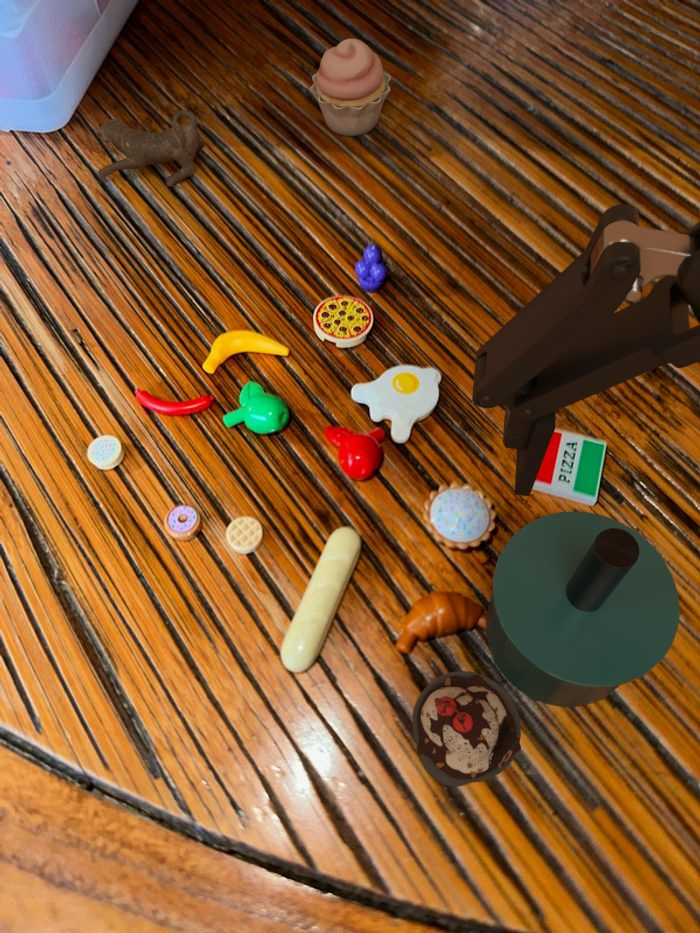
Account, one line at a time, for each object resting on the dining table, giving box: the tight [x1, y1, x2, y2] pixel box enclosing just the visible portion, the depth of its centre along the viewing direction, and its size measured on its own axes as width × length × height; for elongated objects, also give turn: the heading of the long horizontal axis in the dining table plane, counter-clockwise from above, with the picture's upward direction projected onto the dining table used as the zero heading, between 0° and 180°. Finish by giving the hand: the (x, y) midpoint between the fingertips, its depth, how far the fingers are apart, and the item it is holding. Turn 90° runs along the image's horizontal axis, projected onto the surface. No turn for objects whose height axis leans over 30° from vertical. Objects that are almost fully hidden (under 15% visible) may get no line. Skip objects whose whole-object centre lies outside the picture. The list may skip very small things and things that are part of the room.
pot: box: [485, 595, 621, 708], centre depth 56 cm, size 11×11×8 cm
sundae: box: [411, 670, 522, 787], centre depth 49 cm, size 7×7×15 cm
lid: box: [491, 510, 681, 688], centre depth 49 cm, size 12×12×9 cm
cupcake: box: [309, 38, 392, 137], centre depth 86 cm, size 9×9×10 cm
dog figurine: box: [97, 109, 206, 187], centre depth 84 cm, size 12×6×7 cm, turn 90°
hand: (659, 488), depth 38 cm, fingers open, 13 cm apart
